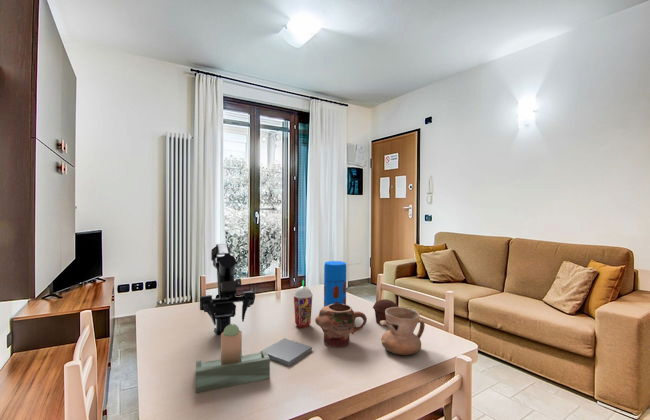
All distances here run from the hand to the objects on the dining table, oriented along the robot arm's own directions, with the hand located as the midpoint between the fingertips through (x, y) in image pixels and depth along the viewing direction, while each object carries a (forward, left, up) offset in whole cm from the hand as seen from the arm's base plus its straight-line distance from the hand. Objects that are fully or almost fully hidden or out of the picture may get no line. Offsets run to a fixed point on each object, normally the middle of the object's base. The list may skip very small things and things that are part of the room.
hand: (229, 323), depth 108 cm
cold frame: (+9, -1, -13) cm, 16 cm away
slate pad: (+5, +19, -13) cm, 23 cm away
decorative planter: (+6, +41, -13) cm, 44 cm away
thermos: (-22, +55, -13) cm, 61 cm away
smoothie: (-16, +35, -13) cm, 41 cm away
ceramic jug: (+22, +58, -13) cm, 64 cm away
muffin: (-2, +70, -13) cm, 71 cm away
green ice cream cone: (+7, -1, -11) cm, 13 cm away
